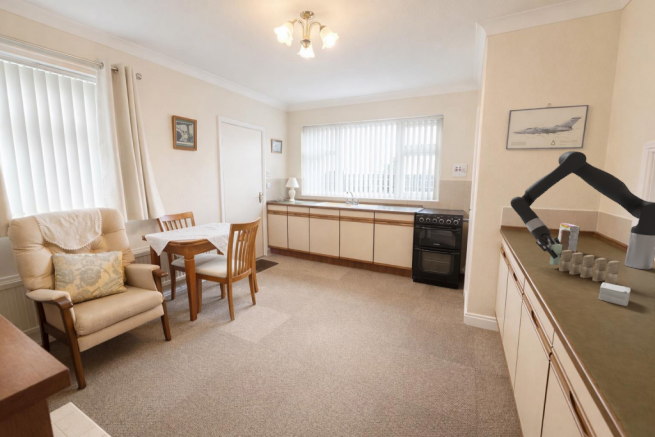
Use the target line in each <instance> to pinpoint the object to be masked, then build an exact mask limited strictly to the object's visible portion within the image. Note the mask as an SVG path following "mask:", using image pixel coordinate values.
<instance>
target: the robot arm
mask: <svg viewBox="0 0 655 437" xmlns="http://www.w3.org/2000/svg"><path fill="white" fill-rule="evenodd" d="M558 164H559V165H558V166H556V167H555V169H553V170H551V172H549V173H547V174H545V175H544V176H542V177H541V178H539V179H538V180H536V181H535V182H533V183H532V184H531V185H530V186H529V187H527V188H526V189H525V192H524V194H523V195H522V196H515V197H513V198H512V199H511V201H510V206H511V208H512V209H513V210H514V212H516V214H517V215H518V216H519V217H520V219H521V221H522V222H523V223H524V225H525V226H526V228H527V230H528V231H529V232H530V234H531V235H532V236H533V238H534V239H535V240H536V241H535V243H536V245H538V246H539V248H540V249H541V250H543V252H547V253H548V254H549V255H550V256H552V257H553V259H555V258H557V257H558V255H557V254H556V253H555V252H554V250H553V249H552V245H555V244H561V243H560V241H559V240H558V237H555V238H554V237H553V236H552V235H551V234H552V232H551V230H550V229H549V227H548V226H547V225H546V224H545V223H544V221H543V220H542V219H541V218H540V217H539V216H538V215H537V214H536V212H535V211H534V210H533V209H532V208H531V206H532V205H533V204H534V202H536V200H537V199H538V198H540V197H541V196H542V195H544V194H545V193H546V192H548V191H549V189H551V188H552V187H553V186H555V185H556V184H557V183H559V182H560V181H561V180H563V179H565V178H566V177H568V176H569V175H570V174H574V175H576V176H577V177H579V178H581V179H582V180H583V182H585V183H586V184H588V186H590V187H592V188H593V189H594V190H596V191H597V192H599V193H600V194H601V195H603V196H604V197H606V198H608V199H609V200H611V201H613V202H615V203H617V205H619V206H621V207H622V208H623V209H624V210H625V211H627V212H628V213H629V214H630V215H631V216H632V217H634V218H636V219H638V221H637V224H636V225H634V226H632V227H631V228H630V233H629V238H628V244H627V250H626V254H625V259H624V260H625V261H624V265H625V266H627V267H630V268H633V269H639V270H651V269H653V268H654V262H655V202H654V201H647V200H644V199H642V198H640V197H639V196H638V195H635V194H634V193H633V192H631V191H630V189H629V188H628V186H627V185H626V184H625V183H624V181H623V180H620V179H619V178H618V177H616V176H614V175H613V174H611V173H609V172H607V171H606V170H602V169H600V168H598V167H596V166H594V165H592V164H590V163H589V162H588V161H587V155H586V154H585V153H583V152H581V151H574V150H571V151H566V152H564V153H561V154H560V156H559V157H558ZM562 247H563V246H562ZM561 253H562V250H561ZM560 258H561V256H560Z"/></svg>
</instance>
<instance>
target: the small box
mask: <svg viewBox="0 0 655 437" xmlns="http://www.w3.org/2000/svg"><path fill="white" fill-rule="evenodd" d="M598 293H599V294H598V300H599V299H600V300H601V301H603V300H604V302H608V303H612V304H615V305H621V306H624V307H628V305H629V301H630V295H631V287H628V286H623V285H619V284H609V283H605V281H604V282H603V281H602V283H601V285H600V287H599V292H598Z"/></svg>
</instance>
